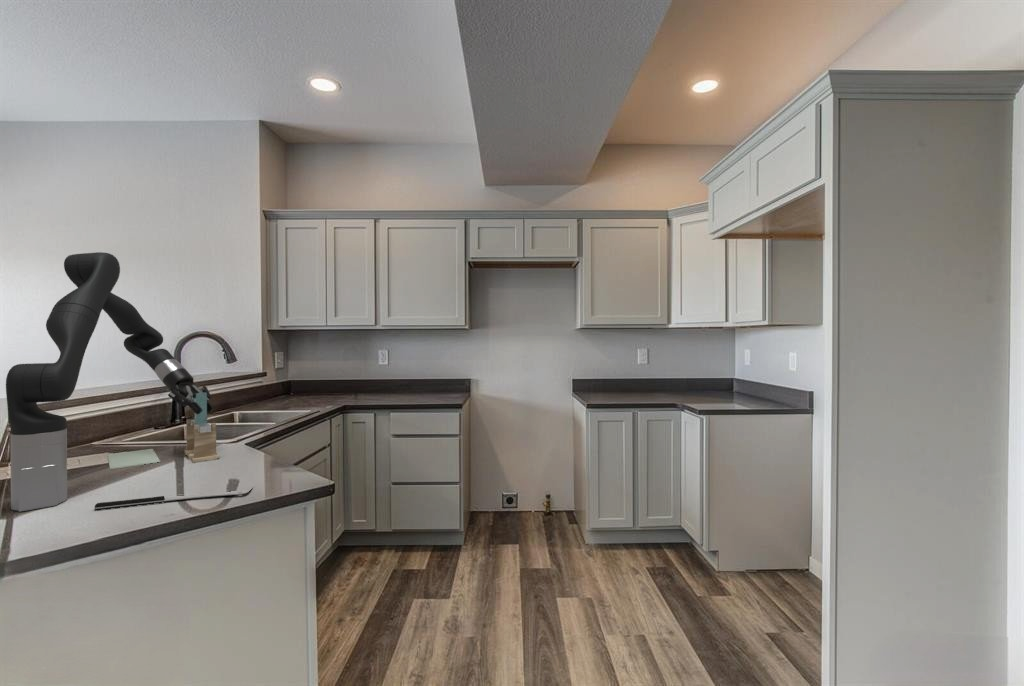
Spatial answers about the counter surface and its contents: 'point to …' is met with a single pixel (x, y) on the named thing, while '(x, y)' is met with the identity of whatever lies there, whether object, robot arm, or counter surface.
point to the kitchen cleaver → (158, 500)
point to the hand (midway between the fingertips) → (205, 411)
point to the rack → (200, 443)
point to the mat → (132, 458)
